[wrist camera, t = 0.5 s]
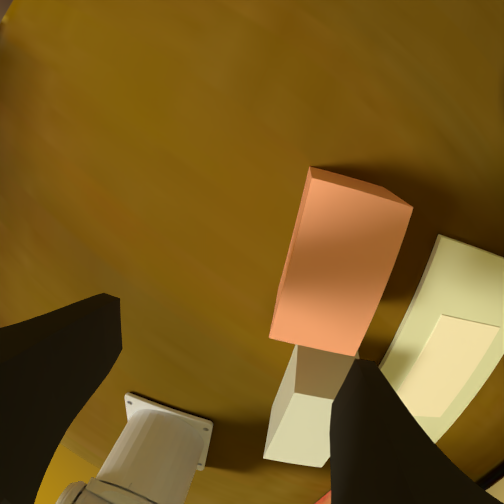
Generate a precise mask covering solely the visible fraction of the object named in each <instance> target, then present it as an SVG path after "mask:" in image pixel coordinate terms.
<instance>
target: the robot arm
mask: <svg viewBox="0 0 504 504" xmlns="http://www.w3.org/2000/svg"><path fill="white" fill-rule="evenodd" d="M121 350H122V336H121V318H120V298H117V297H114V296H111V295H108V294H105V293H102V294H98V295H95V296H92V297H89V298H87V299H84V300H81V301H78V302H76V303H73V304H71V305H68V306H65V307H63V308H60V309H57V310H55V311H52V312H49V313H47V314H44V315H41V316H38V317H35V318H32V319H29V320H26V321H23V322H20V323H17V324H13V325H10V326H6V327H2V328H0V504H34V502H35V499H36V496H37V492H38V490H39V487H40V485H41V482H42V480H43V477H44V475H45V472H46V470H47V468H48V465H49V463H50V461H51V459H52V457H53V455H54V452H55V451H56V449H57V447H58V445H59V443H60V441H61V440H62V438H63V436H64V434H65V432H66V430H67V429H68V427H69V426H70V424H71V423H72V421H73V420H74V418H75V417H76V416H77V414H78V413H79V412H80V410H81V409H82V408H83V406H84V405H85V404H86V402H87V401H88V400H89V398H90V397H91V396H92V395H93V393H94V392H95V391H96V389H97V388H98V387H99V385H100V384H101V383H102V381H103V380H104V379H105V377H106V376H107V375H108V373H109V372H110V370H111V368H112V367H113V365H114V363H115V361H116V360H117V358H118V356H119V354H120V352H121ZM125 404H126V411H127V418H128V423H127V425H126V426H125V428H124V430H123V431H122V433H121V435H120V437H119V438H118V440H117V442H116V443H115V445H114V447H113V449H112V450H111V452H110V454H109V456H108V457H107V459H106V461H105V462H104V464H103V466H102V468H101V469H100V471H99V473H98V475H97V476H96V478H93V477H92V478H91V479H90V481H89V483H88V484H86V483H84V482H83V481H78V482H75V483H71V484H70V485H68V486H67V488H66V489H65V490H64V491H63V493H62V494H61V495H60V497H59V499H58V500H57V502H56V504H184V501H185V499H186V496H187V493H188V490H189V487H190V485H191V482H192V479H193V476H194V473H195V470H196V469H197V470H204V467H205V462H206V458H207V453H208V448H209V443H210V439H211V434H212V429H213V423H212V422H211V421H209V420H206V419H203V418H200V417H196V416H193V415H190V414H187V413H184V412H181V411H178V410H175V409H172V408H169V407H166V406H163V405H160V404H158V403H155V402H152V401H150V400H147V399H144V398H142V397H139V396H137V395H134V394H132V393H126V395H125ZM329 437H330V465H331V504H503V503H502V502H500V501H499V500H497V499H496V498H494V497H493V496H492V495H490V494H489V493H487V492H486V491H485V490H483V489H482V488H481V487H479V486H478V485H477V484H476V483H475V482H473V481H472V480H471V479H470V478H469V477H468V476H466V475H465V474H464V473H463V472H462V471H461V470H460V469H459V468H458V467H457V466H455V465H454V464H453V463H452V462H451V460H450V459H449V458H448V457H447V456H446V455H445V454H444V453H443V452H442V451H441V450H440V449H439V448H438V447H437V446H436V444H435V443H434V442H433V441H432V440H431V439H430V437H429V436H428V435H427V434H426V432H425V431H424V430H423V429H422V427H421V426H420V425H419V424H418V422H417V421H416V420H415V418H414V417H413V416H412V414H411V413H410V412H409V410H408V409H407V407H406V406H405V405H404V403H403V402H402V400H401V399H400V398H399V396H398V395H397V393H396V392H395V390H394V389H393V387H392V386H391V385H390V383H389V382H388V380H387V379H386V377H385V376H384V375H383V373H382V372H381V370H380V369H379V368H378V366H377V365H376V364H375V362H374V361H368V360H362V359H356V358H355V360H354V362H353V364H352V366H351V368H350V370H349V372H348V374H347V376H346V378H345V380H344V382H343V384H342V386H341V388H340V390H339V391H338V393H337V395H336V397H335V399H334V401H333V403H332V407H331V418H330V431H329Z"/></svg>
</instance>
